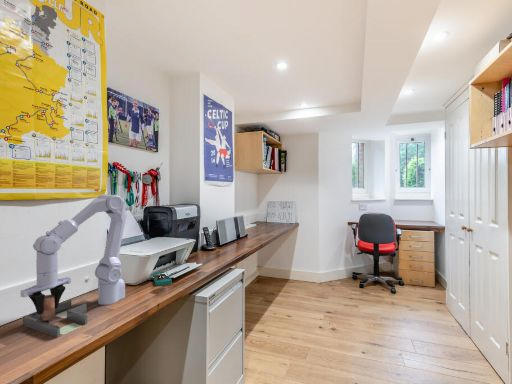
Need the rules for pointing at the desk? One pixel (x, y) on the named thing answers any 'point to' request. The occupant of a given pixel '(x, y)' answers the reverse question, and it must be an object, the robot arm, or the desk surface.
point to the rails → (72, 314)
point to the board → (69, 327)
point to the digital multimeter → (161, 279)
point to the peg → (48, 307)
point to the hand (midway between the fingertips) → (47, 310)
